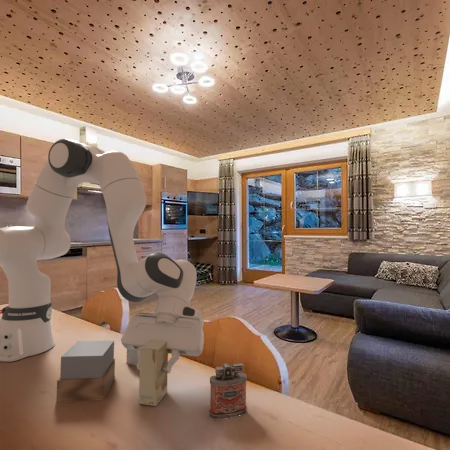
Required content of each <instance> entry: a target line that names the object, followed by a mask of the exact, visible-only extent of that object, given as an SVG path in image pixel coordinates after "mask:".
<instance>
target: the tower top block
mask: <svg viewBox="0 0 450 450" xmlns="http://www.w3.org/2000/svg"><path fill="white" fill-rule="evenodd" d="M114 357H115V340H83V341H82V340H80V341H79V340H78V341H76V342H75V343H74V344H73V345H72V346H71V347H70V348H69V349H67V351H66V352H64V353H63V355H61V356H60V374H59V375H60V377H59V378H60V379H85V378H102V377H103V376H104V374H105V373H106V371H107V370H108V368H109V366H110V365H111V363H112V362H113V360H114V359H115V358H114Z"/></svg>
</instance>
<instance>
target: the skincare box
mask: <svg viewBox="0 0 450 450" xmlns="http://www.w3.org/2000/svg"><path fill="white" fill-rule="evenodd" d="M166 345H167V341H163V340H150V341H149V342H148V343H146V344H145V345H144V346H143V347H141V350H140V370H139V381H138V382H139V388H138V404H140V405H146V406H154V407H156V406H158V405H159V404H160V402H161V401H162V399H163V398H164V397H165V395H166V394H167V392H168V373H164V372H163V371H162V368H163V366H164V362H168V361H169V353H168V349H166Z"/></svg>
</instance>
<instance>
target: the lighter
mask: <svg viewBox="0 0 450 450" xmlns="http://www.w3.org/2000/svg"><path fill="white" fill-rule="evenodd" d="M244 366H245V365H244V364H243V363H241V362H240V363H233V364H231V365H230V364H229V363H224V364H223V365H222V366H216V367H215V375H212V376H210V378H209V385H210V398H209V399H210V400H209V401H210V402H209V403H210V404H209V411H208V413H209V414H208V415H209V418H210V419H211V418H212V419H211V420H224V419H223V418H228V419H232V418H231V417H234V418H236V417H235V416H238V417H240V416H239V415H241V416H244V415H246V414H247V412H248V411H247V410H248V409H247V381H248V375H247V374H246V373H244V371H245V367H244ZM243 414H244V415H243Z"/></svg>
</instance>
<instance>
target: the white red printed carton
mask: <svg viewBox="0 0 450 450" xmlns="http://www.w3.org/2000/svg"><path fill="white" fill-rule="evenodd" d="M138 361H139V359H138V353H137V350H132V349H126V364H128V365H133V366H136V367H137V364H138Z"/></svg>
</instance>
